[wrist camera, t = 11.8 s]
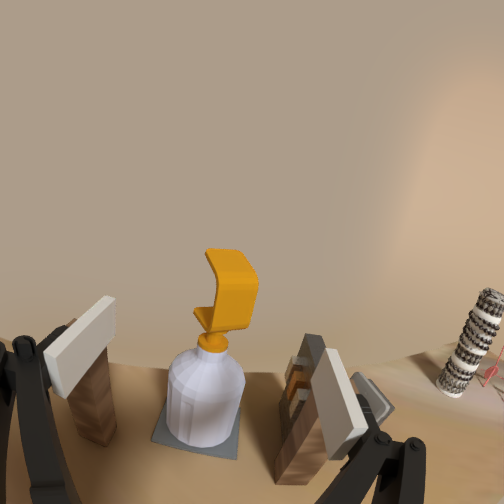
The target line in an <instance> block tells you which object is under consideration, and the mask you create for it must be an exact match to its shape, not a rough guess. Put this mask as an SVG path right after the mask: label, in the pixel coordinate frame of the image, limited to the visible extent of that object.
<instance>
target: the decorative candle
mask: <svg viewBox="0 0 504 504" xmlns="http://www.w3.org/2000/svg"><path fill="white" fill-rule="evenodd" d="M503 312H504V295H503V294H501V293H499V292H497V291H495V290H493V289H490V288H485V289H484V290H483V291H482V292H480V295H479V298H478V300H477V303H476V305H475V306H474V308H473V310H472V311H470V312H469V319H467V320H466V322H465V323H466V325H465V326H464V327H463V333H462V334H461V335H460V338H459V343H458V345H457V348H456V349H455V350H454V352H453V354H452V356H450V357H449V359H448V360H449V361H448V362H447V363H446V364H445V365H446V366H445V368H444V369H442V373H441V374H440V375H439V378H438V379H437V380H436V386H437V388H438V389H439V390H440V391H441V392H442V393H443V394H445V395H447V396H449V397H452V398H458V397H460V396H461V395H462V392H464V390H465V389H466V387H467V386H468V385H469V381H470V380H471V379H472V378H473V376H472V375H474V374H475V373H476V369H477V367H478V365H479V362H480V360H481V358H482V356H483V355H485V354H486V352H487V351H488V350H489V347H488V344H489V345H490V344H492V340H491V338H492V336H493V337H494V336H496V332H494V331H495V330H499V329H500V328H499V326H498V324H499V323H500V320H501V316H502V313H503ZM472 313H473V314H472ZM471 314H472V315H471ZM468 322H469V323H468Z"/></svg>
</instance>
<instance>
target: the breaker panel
mask: <svg viewBox="0 0 504 504" xmlns="http://www.w3.org/2000/svg"><path fill="white" fill-rule="evenodd" d="M325 348H326V346H325V344H324V341H323V339H322V336H320V335H312V334H305V336H304V339H303V341H302V344H301V347H300V350H299V353H298V355H297V356H291V359H290V362H289V365H288V367H287V370H286V373H285V381H286V387H285V390H284V392H283V395H282V397H281V399H280V402H279V408H280V420H281V431H282V444H283V445H284V443H285V441H286V439H287V438H288V436H289V434H290V432H291V430H292V428H293V426H294V424H295V422H296V420H297V418H298V416H299V414H300V412H301V410H302V408H303V406H304V404H305V402H306V400H307V398H308V396H309V393H310V391H311V389H312V385H311V381H310V380H311V378H312V376H313V374H314V372H315V370H316V367H317V365H318V363H319V361H320V359H321V356H322V354H323V352H324V350H325Z"/></svg>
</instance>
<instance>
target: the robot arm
mask: <svg viewBox="0 0 504 504" xmlns="http://www.w3.org/2000/svg"><path fill="white" fill-rule="evenodd" d="M115 315H116V299H115V298H113V297H109V296H107V295H105V296H104V297H103V298H102V299H100V300H99V301H98V302H97V303H96V304H95V305H94V306H92V307H91V308H90V309H89V310H88V311H87V312H86V313H84V314H83V315H82V316H81V317H80V318H79V319H78V320H77V321H76V322H74V323H73V324H72V325H71V326H70V327H68V326H65V325H63V326H61V327H58V328H56V329H55V330H54V331H53V332H52V333H51V334H49V335H48V336H47V338H45V339H44V340H43V341H42V342H40V343H39V344H38V345H37V346H36V342H35V340H34V339H33V338H32V337H30V336H25V335H23V336H18V337H16V338H15V339H14V340H13V342H12V346H13V350H14V353H13V352H9V351H6V348H5V345H4V344H3V343H2V342H1V341H0V504H6V459H7V447H8V438H9V430H10V423H11V417H12V411H13V406H14V401H15V396H17V409H18V418H19V426H20V433H21V440H22V446H23V451H24V456H25V461H26V465H27V469H28V473H29V477H30V481H31V487H30V495H31V499H32V502H33V504H82V503H81V501H80V498H79V496H78V493H77V491H76V489H75V486H74V483H73V481H72V478H71V475H70V473H69V470H68V467H67V464H66V461H65V458H64V455H63V451H62V448H61V444H60V441H59V437H58V433H57V429H56V425H55V421H54V417H53V412H52V407H51V402H50V396H49V392H48V389H49V388H50V386H51V385H52V388H53V392H54V393H55V394H57V395H59V396H60V397H62V398H64V399H66V398H67V397H68V395H69V394H70V392H71V391H72V390H73V388H74V387H75V386H76V384H77V383H78V382H79V381H80V379H81V378H82V377H83V375H84V374H85V373H86V371H87V370H88V369H89V368H90V366H91V365H92V364H93V362H94V361H95V360H96V359H97V357H98V356H99V355H100V354H101V352H102V351H103V350H104V348H105V347H106V346H107V345H108V343H109V342H110V341H111V340H112V338H113V337H114V336H115ZM310 381H311V385H312V389H313V394H314V398H315V402H316V406H317V411H318V415H319V419H320V424H321V428H322V432H323V437H324V441H325V446H326V450H327V455H328V460H343V459H344V457H345V456H346V455H347V454H348V457H349V460H348V461H347V463H346V464H345V465H344V466H343V467H342V468H341V469H340V470H341V471H340V472H339V474H338V475H337V476H336V478H335V479H334V480H333V481H332V483H331V484H330V485H329V487H328V488H327V489H326V490H325V492H324V493H323V494H322V495H321V496H320V498H319V499H318V500H317V501H316V502H315V504H360V503H361V502H362V500H363V499H364V497H365V495H366V494H367V492H368V490H369V489H370V487H371V485H372V483H373V482H374V480H375V478H376V476H377V475H378V478H377V483H376V487H375V491H374V496H373V500H372V503H371V504H423V503H424V492H425V474H426V447H425V444H424V443H423V441H421V440H420V439H418V438H416V437H411V438H408V439H407V440H406V441H405V442H404V443H402V442H397V441H392V438H391V437H390V436H389V435H388V434H387V433H385V432H383V431H380V429H379V426H378V424H377V422H376V419H375V417H374V415H373V413H372V410H371V408H370V405H369V403H368V401H367V399H366V398H365V397H364V396H363V395H362V394H355V393H354V390H353V388H352V385H351V383H350V380H349V378H348V376H347V373H346V371H345V368H344V366H343V364H342V361H341V359H340V357H339V354H338V352H337V350H336V349H330V348H325V350H324V352H323V354H322V356H321V359H320V361H319V363H318V365H317V367H316V370H315V372H314V374H313V376H312V378H311V380H310Z"/></svg>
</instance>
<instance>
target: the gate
mask: <svg viewBox="0 0 504 504" xmlns="http://www.w3.org/2000/svg"><path fill="white" fill-rule="evenodd" d="M76 321H77V319H75V318H74V319H73V320H72V321H71V322H69V323H68V324H67V325H66V326H68V327H70V326H71V325H72V324H73V323H74V322H76ZM349 380H350V383H351V385H352V388H353V390H354V393H355V394H359V391H358V389H357V387H356V385H355V382H354V380H353V379H349ZM67 399H68V403H69V406H70V409H71V412H72V416H73V419H74V421H75V424H76V427H77V430H78V433H79V435H80V436H82V437H84V438H87V439H89V440H91V441H93V442H96V443H98V444H100V445H103V446H105V447H107V445H108V443H109V441H110V439H111V437H112V435H113V433H114V431H115V429H116V427H117V424H116V419H115V413H114V407H113V400H112V393H111V386H110V377H109V368H108V358H107V346H106V347H105V348H104V350H103V351H102V352H101V354H100V355H99V356H98V357H97V359H96V360H95V361H94V362H93V364H92V365H91V366H90V368H89V369H88V370H87V371H86V373H85V374H84V375H83V377H82V378H81V379H80V381H79V382H78V383H77V384H76V386H75V387H74V388H73V390H72V391H71V392H70V394H69V395H68V397H67ZM327 459H328V455H327V450H326V446H325V441H324V437H323V432H322V428H321V424H320V419H319V415H318V411H317V406H316V402H315V398H314V394H313V389H311V391H310V393H309V396H308V398H307V400H306V402H305V404H304V406H303V408H302V410H301V412H300V414H299V416H298V418H297V420H296V422H295V424H294V426H293V428H292V430H291V432H290V434H289V436H288V438H287V439H286V441H285V443H284V445H283V447H282V449H281V450H280V452H279V454H278V456H277V457H276V459H275V461H274V464H275V485H307V484H308V483H309V481H310V480H311V479H312V478H313V477H314V476H315V474H316V473H317V472H318V471H319V469H320V468H321V467H322V466H323V464H324V463H325V462H326V461H327Z"/></svg>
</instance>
